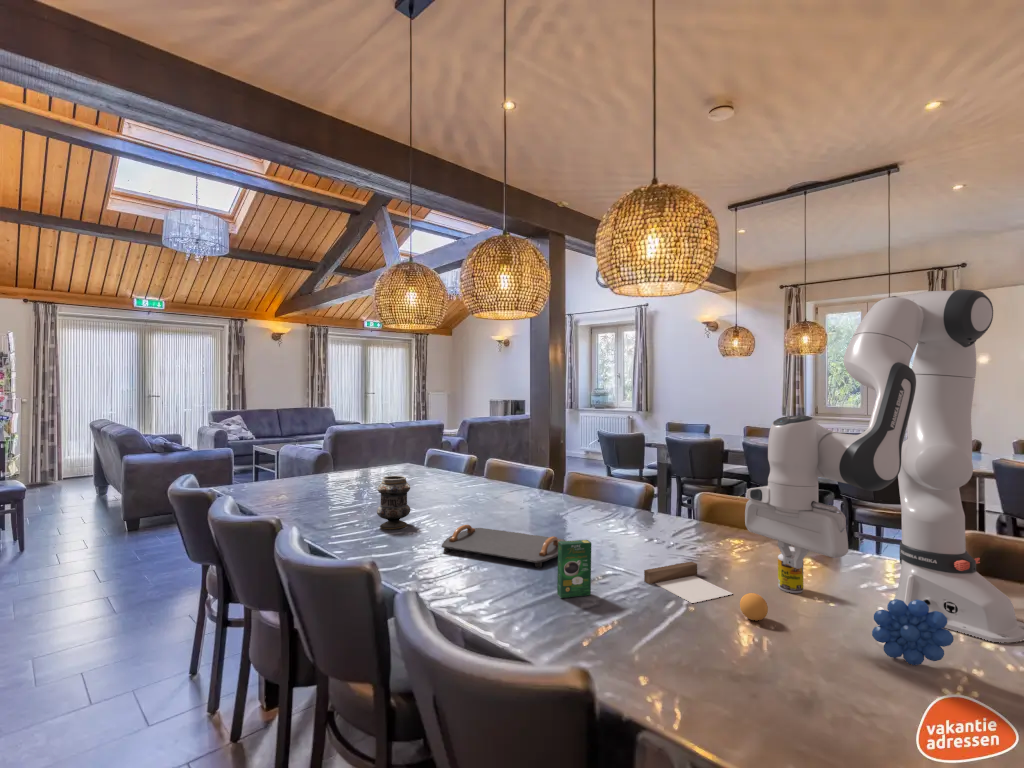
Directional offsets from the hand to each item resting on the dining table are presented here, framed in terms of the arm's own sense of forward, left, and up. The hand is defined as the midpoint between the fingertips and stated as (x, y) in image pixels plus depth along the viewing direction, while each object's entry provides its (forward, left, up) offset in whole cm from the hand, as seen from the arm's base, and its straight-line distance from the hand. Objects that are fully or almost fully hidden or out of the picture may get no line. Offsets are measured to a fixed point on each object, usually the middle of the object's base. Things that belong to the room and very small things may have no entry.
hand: (792, 566), depth 100 cm
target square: (+27, 0, -15) cm, 31 cm away
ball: (+9, 0, -12) cm, 15 cm away
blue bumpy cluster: (-15, -12, -15) cm, 24 cm away
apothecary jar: (+117, +58, -15) cm, 132 cm away
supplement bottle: (+17, -22, -15) cm, 32 cm away
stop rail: (+35, 0, -15) cm, 38 cm away
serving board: (+75, +31, -15) cm, 83 cm away
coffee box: (+36, +29, -15) cm, 49 cm away
